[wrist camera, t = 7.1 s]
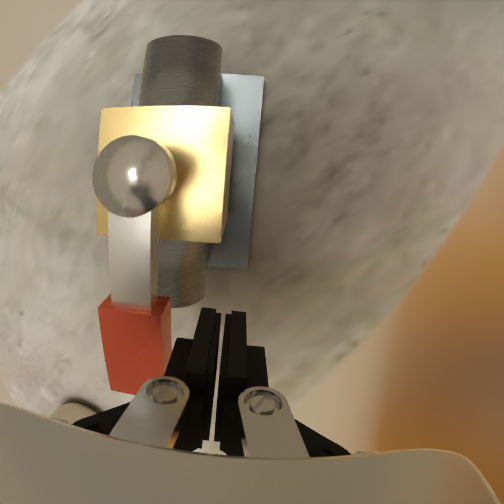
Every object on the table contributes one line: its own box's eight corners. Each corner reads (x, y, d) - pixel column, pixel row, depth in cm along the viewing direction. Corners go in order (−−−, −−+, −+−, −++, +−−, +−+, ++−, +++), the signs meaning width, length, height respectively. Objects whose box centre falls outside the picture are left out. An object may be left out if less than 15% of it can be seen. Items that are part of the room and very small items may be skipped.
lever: (112, 138, 9) (92, 135, 8) (181, 139, 9) (170, 135, 8) (120, 367, 12) (108, 389, 10) (175, 376, 12) (168, 400, 10)
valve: (140, 79, 17) (68, 26, 8) (263, 81, 18) (279, 14, 8) (131, 254, 21) (61, 320, 11) (247, 263, 21) (250, 343, 12)
